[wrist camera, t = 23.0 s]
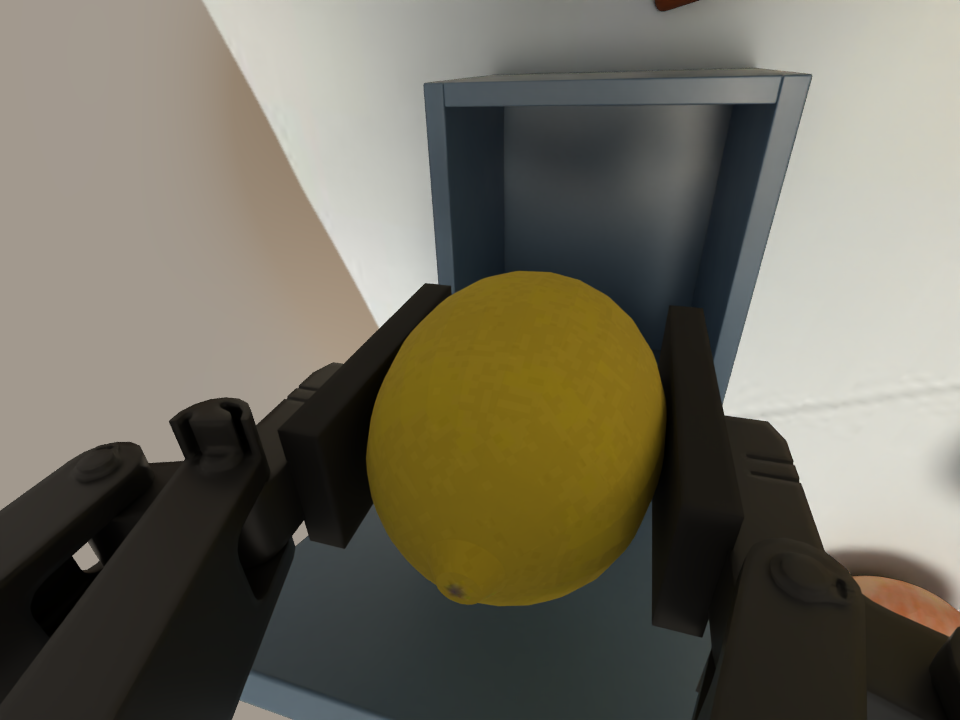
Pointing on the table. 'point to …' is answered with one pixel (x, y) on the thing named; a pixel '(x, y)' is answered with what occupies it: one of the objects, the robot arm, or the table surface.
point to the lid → (467, 644)
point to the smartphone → (671, 4)
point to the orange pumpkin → (911, 602)
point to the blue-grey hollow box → (617, 185)
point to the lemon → (517, 439)
